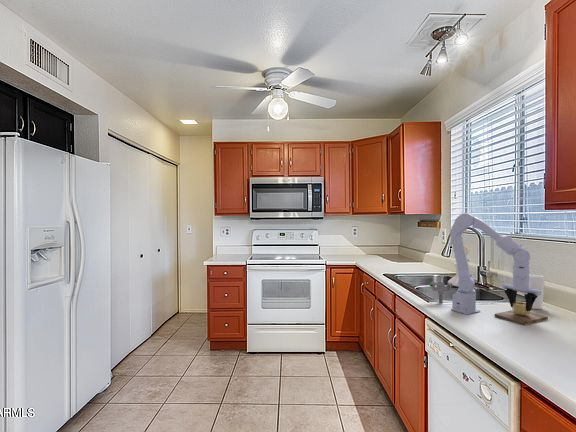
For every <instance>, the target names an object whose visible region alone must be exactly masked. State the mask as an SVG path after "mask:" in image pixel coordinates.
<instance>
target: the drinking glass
mask: <svg viewBox="0 0 576 432" xmlns="http://www.w3.org/2000/svg"><path fill="white" fill-rule="evenodd" d="M529 288H533V289H536V290H540V291H541V295H540V296H538V297H537V298H536V300H535V301H534V303H533V306H532V309H533V310H542V309H543V302H544V301H543V299H544V292H545V276H544V275H541V274H530V273H529ZM526 294H528V293H526ZM532 309H531V310H532Z"/></svg>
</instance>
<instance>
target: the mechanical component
mask: <svg viewBox="0 0 576 432" xmlns="http://www.w3.org/2000/svg"><path fill="white" fill-rule="evenodd" d="M429 287H430V289H431V290H432V291H435V292H437V294H438V303H439V304H440V305H441V304H443V299H444V298H443V295H444V292H450V291H451V289H452V287H453V286H452V283H448V282H447V284H445V282H443V281H442V282H441V281H436V282H435V281H434V282H433V281H432V282H430V283H429Z"/></svg>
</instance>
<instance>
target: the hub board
mask: <svg viewBox="0 0 576 432" xmlns="http://www.w3.org/2000/svg"><path fill="white" fill-rule="evenodd" d="M494 317H495V318H497V319H498V318H499V319H501V320H505V321H509V322H513V323H515V324H519V325H522V326H527V325H531V324H535V323H540V322H542V321H546V320H549V317H548V315H543V314H539V313H535V312H531V311H530V314H529V315H520V314H516V313H513V312H512V309H511V310H506V311H502V312H497V313H494Z"/></svg>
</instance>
